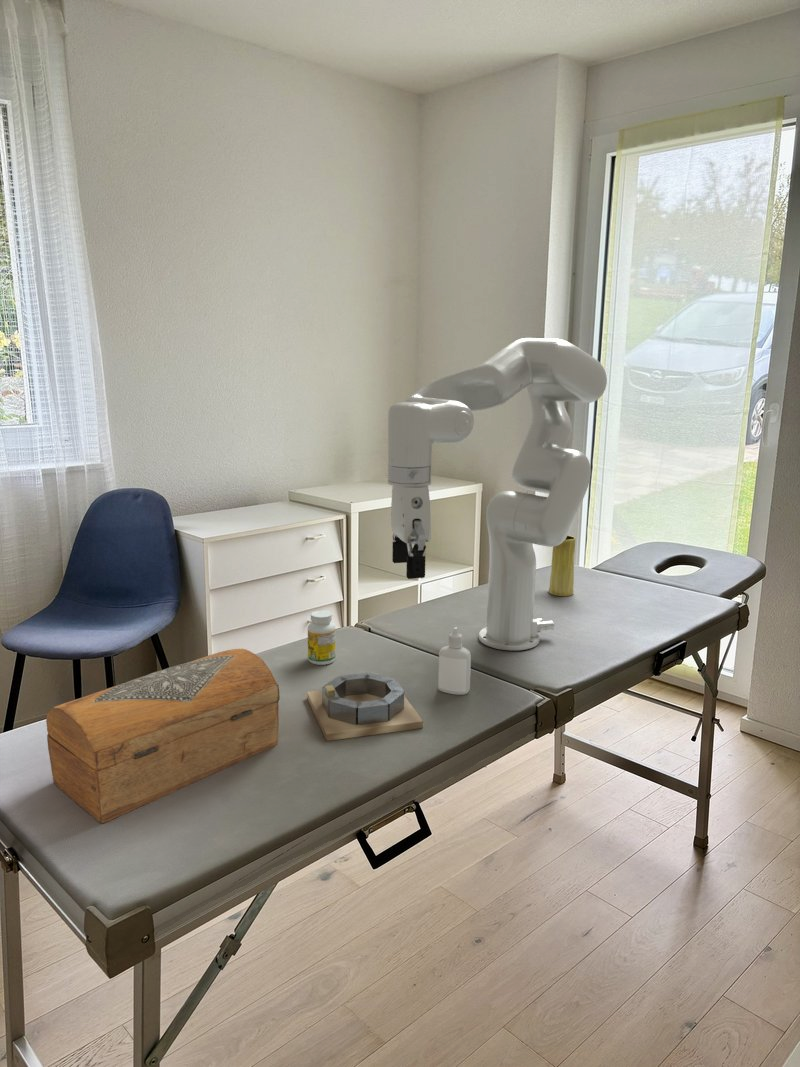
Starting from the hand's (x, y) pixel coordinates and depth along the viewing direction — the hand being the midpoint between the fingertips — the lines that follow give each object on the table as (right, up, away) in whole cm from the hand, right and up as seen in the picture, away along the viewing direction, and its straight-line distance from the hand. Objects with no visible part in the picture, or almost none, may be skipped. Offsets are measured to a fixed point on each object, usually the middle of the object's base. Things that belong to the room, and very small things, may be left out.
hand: (408, 569), depth 146 cm
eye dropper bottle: (+8, -22, +2) cm, 24 cm away
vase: (+39, -8, +58) cm, 70 cm away
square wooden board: (-8, -24, -7) cm, 26 cm away
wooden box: (-36, -28, -23) cm, 51 cm away
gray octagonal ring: (-8, -23, -7) cm, 25 cm away
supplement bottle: (-17, -19, +15) cm, 29 cm away
